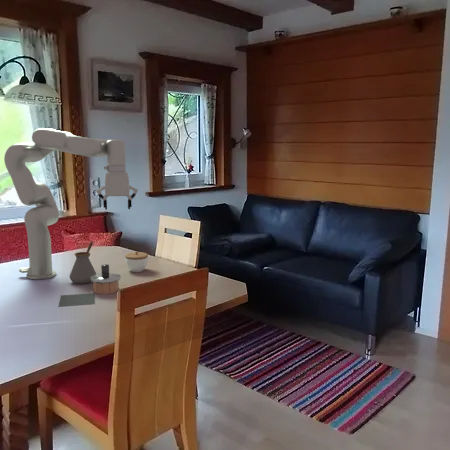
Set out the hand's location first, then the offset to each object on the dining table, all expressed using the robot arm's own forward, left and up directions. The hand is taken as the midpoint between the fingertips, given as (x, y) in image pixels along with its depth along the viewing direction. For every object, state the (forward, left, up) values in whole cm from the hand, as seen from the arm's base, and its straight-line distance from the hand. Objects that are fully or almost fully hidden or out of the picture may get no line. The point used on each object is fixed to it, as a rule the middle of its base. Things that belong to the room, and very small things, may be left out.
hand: (117, 209), depth 195 cm
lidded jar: (+9, +16, -32) cm, 37 cm away
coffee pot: (-14, +7, -33) cm, 36 cm away
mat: (-17, -22, -32) cm, 43 cm away
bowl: (-6, -12, -32) cm, 35 cm away
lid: (-6, -12, -27) cm, 30 cm away
